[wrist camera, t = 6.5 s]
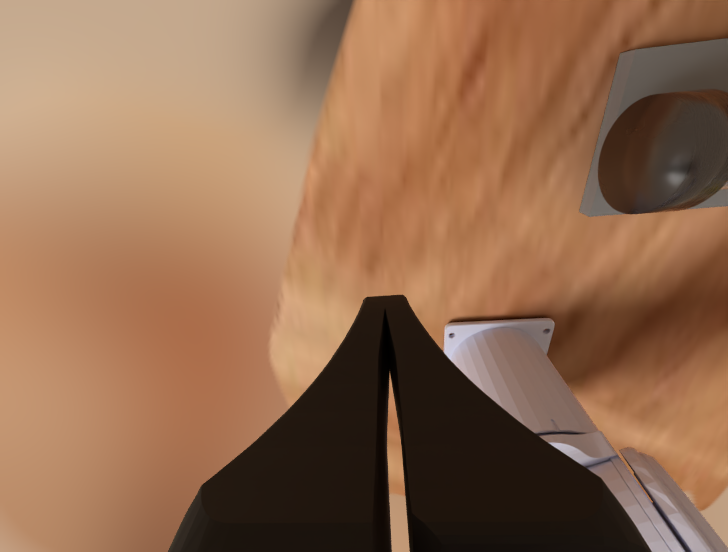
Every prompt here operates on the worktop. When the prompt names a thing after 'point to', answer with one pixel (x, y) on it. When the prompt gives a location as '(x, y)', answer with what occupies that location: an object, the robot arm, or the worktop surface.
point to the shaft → (666, 152)
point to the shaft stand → (656, 76)
